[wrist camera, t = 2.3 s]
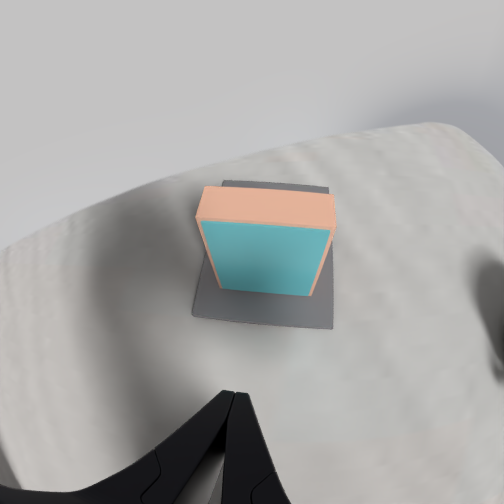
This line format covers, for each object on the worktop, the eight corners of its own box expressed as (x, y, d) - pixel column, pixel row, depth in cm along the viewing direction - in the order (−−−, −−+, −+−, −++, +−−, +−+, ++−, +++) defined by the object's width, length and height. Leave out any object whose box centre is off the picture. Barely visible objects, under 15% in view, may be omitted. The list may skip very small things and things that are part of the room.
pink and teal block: (311, 297, 23) (336, 229, 15) (219, 289, 24) (194, 219, 16) (311, 270, 25) (333, 194, 16) (224, 263, 25) (205, 186, 17)
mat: (331, 329, 22) (333, 327, 22) (193, 316, 23) (192, 314, 23) (327, 190, 30) (328, 187, 30) (224, 183, 32) (223, 180, 31)
